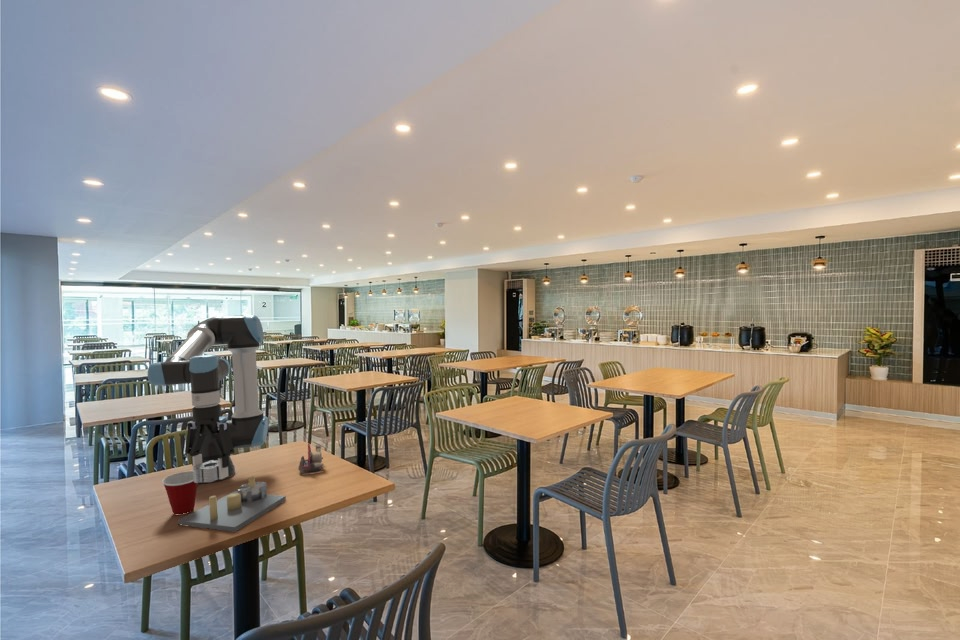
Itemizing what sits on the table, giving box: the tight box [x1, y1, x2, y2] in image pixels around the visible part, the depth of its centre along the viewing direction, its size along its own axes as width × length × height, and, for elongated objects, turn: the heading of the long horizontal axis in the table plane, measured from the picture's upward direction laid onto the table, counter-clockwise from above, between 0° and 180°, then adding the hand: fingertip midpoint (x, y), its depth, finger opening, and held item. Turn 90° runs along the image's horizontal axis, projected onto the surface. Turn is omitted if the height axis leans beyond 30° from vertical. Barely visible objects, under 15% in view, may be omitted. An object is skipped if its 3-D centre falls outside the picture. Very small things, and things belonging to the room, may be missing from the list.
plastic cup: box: [161, 470, 198, 515], centre depth 150 cm, size 11×11×12 cm
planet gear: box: [192, 460, 219, 484], centre depth 140 cm, size 9×9×4 cm
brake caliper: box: [298, 442, 325, 476], centre depth 185 cm, size 11×11×12 cm
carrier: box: [177, 475, 287, 533], centre depth 148 cm, size 22×22×8 cm
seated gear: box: [237, 480, 268, 503], centre depth 156 cm, size 9×8×4 cm
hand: (211, 476), depth 140 cm, fingers closed on planet gear, 9 cm apart
